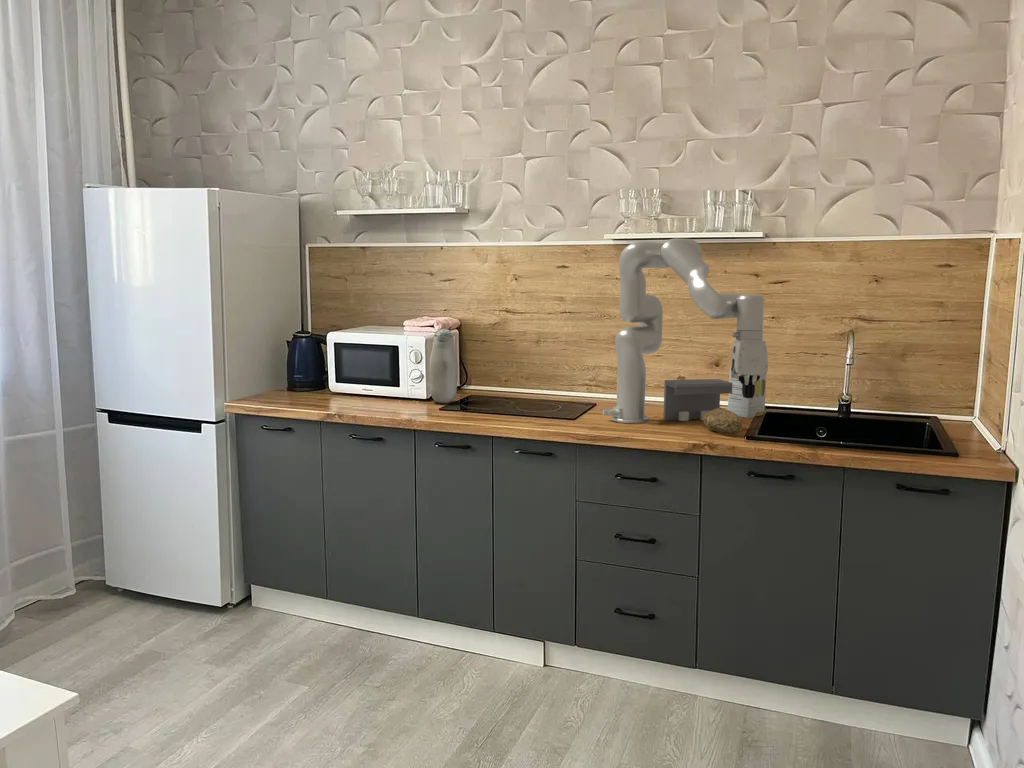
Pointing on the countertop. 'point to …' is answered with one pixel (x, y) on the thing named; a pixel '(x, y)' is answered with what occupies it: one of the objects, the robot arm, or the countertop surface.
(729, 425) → the rough tan stone
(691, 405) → the grey footed stand
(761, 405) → the supplement box
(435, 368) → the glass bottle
